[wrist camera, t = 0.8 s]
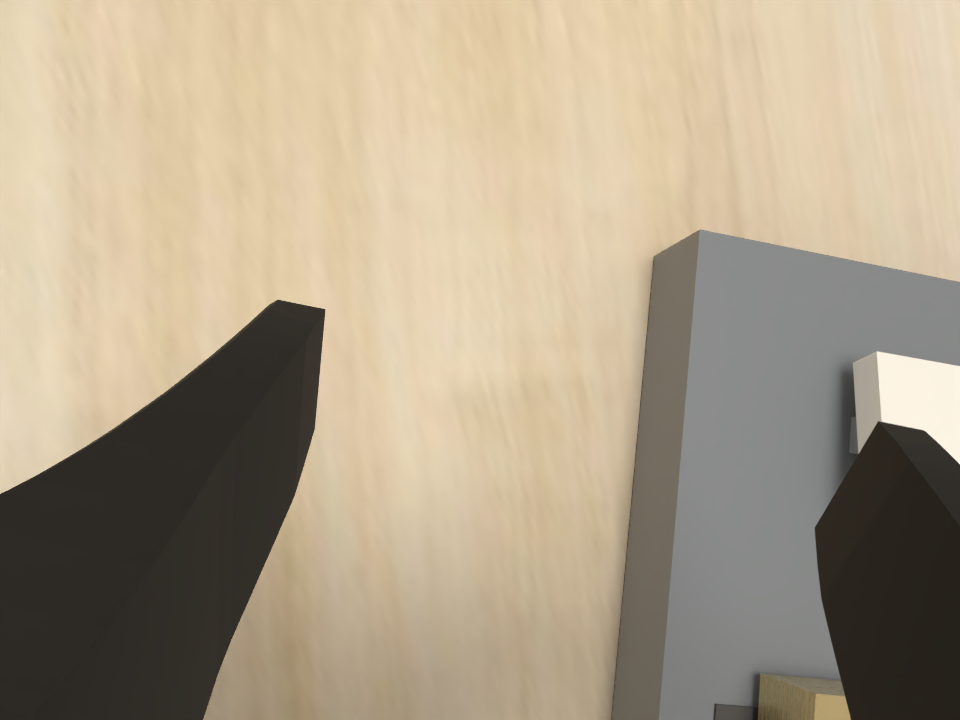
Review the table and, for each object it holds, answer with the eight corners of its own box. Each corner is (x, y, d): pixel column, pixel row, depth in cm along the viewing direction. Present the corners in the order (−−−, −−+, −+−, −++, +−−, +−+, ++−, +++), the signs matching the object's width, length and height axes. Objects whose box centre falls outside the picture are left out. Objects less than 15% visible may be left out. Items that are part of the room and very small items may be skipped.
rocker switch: (1023, 530, 25) (1055, 526, 24) (861, 508, 24) (887, 502, 23) (1007, 389, 26) (1035, 380, 25) (852, 362, 25) (876, 351, 24)
